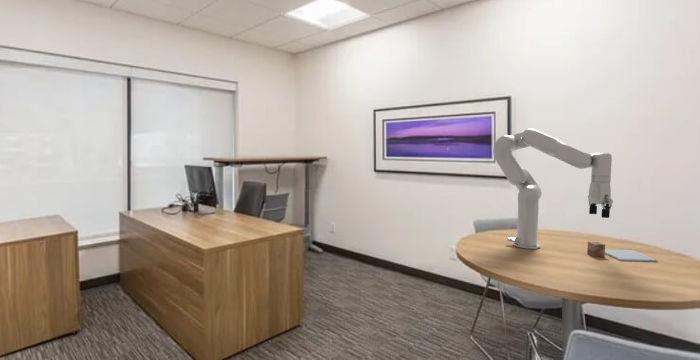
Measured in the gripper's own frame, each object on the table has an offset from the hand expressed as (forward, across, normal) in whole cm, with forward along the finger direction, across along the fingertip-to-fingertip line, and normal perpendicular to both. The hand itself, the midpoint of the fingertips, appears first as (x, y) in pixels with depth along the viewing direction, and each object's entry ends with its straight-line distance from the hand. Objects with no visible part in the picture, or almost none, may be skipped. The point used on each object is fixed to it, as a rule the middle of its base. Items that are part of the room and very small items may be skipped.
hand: (598, 215), depth 173 cm
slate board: (+19, 0, +14) cm, 24 cm away
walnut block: (+19, 0, 0) cm, 19 cm away
